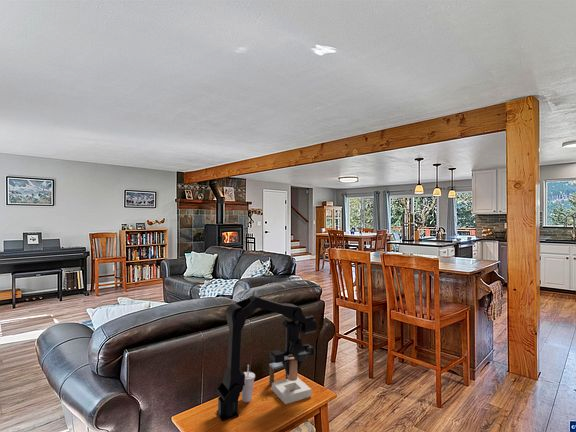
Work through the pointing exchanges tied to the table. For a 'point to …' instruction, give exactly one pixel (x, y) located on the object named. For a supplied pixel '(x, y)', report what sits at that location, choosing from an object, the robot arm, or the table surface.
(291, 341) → the robot arm
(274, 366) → the grey arch
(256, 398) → the table surface
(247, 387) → the smoothie
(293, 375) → the peg
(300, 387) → the socket board
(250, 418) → the table surface
